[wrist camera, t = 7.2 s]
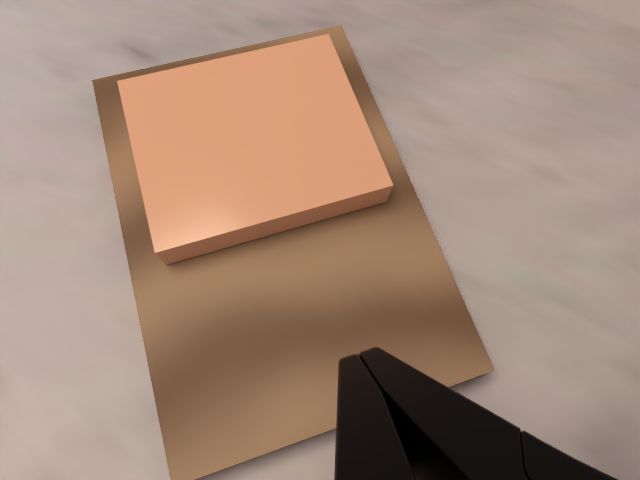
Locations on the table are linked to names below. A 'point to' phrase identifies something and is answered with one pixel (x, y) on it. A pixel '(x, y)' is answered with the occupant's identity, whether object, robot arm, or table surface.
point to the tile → (249, 147)
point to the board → (284, 304)
